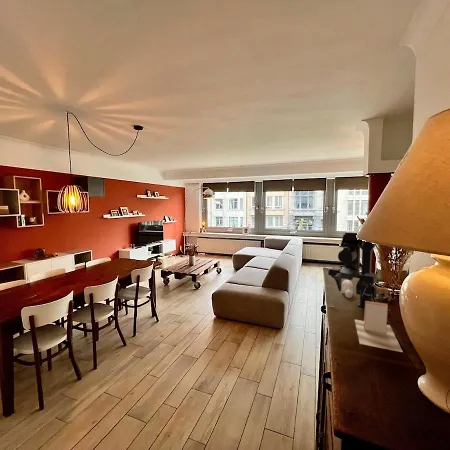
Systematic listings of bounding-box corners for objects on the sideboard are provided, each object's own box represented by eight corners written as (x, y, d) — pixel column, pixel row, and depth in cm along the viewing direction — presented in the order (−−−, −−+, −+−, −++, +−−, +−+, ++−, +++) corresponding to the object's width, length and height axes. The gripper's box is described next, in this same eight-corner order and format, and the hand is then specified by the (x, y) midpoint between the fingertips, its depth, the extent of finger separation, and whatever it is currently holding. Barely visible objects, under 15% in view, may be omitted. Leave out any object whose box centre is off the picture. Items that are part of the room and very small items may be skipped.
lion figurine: (364, 297, 147) (365, 282, 146) (364, 294, 151) (364, 280, 151) (394, 302, 140) (395, 286, 139) (392, 298, 145) (393, 283, 144)
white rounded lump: (352, 279, 153) (355, 287, 142) (351, 292, 155) (355, 301, 143) (341, 278, 155) (343, 286, 144) (340, 291, 157) (342, 299, 145)
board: (354, 321, 117) (354, 319, 117) (389, 327, 111) (389, 325, 111) (359, 346, 96) (359, 343, 96) (402, 354, 91) (403, 352, 91)
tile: (363, 327, 109) (365, 300, 108) (385, 331, 106) (386, 303, 105) (364, 330, 107) (365, 303, 106) (386, 333, 104) (388, 306, 103)
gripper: (324, 259, 111) (322, 293, 113) (371, 266, 99) (368, 304, 100) (333, 255, 119) (332, 287, 121) (377, 261, 107) (375, 297, 108)
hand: (350, 293), depth 112 cm, fingers open, 9 cm apart
